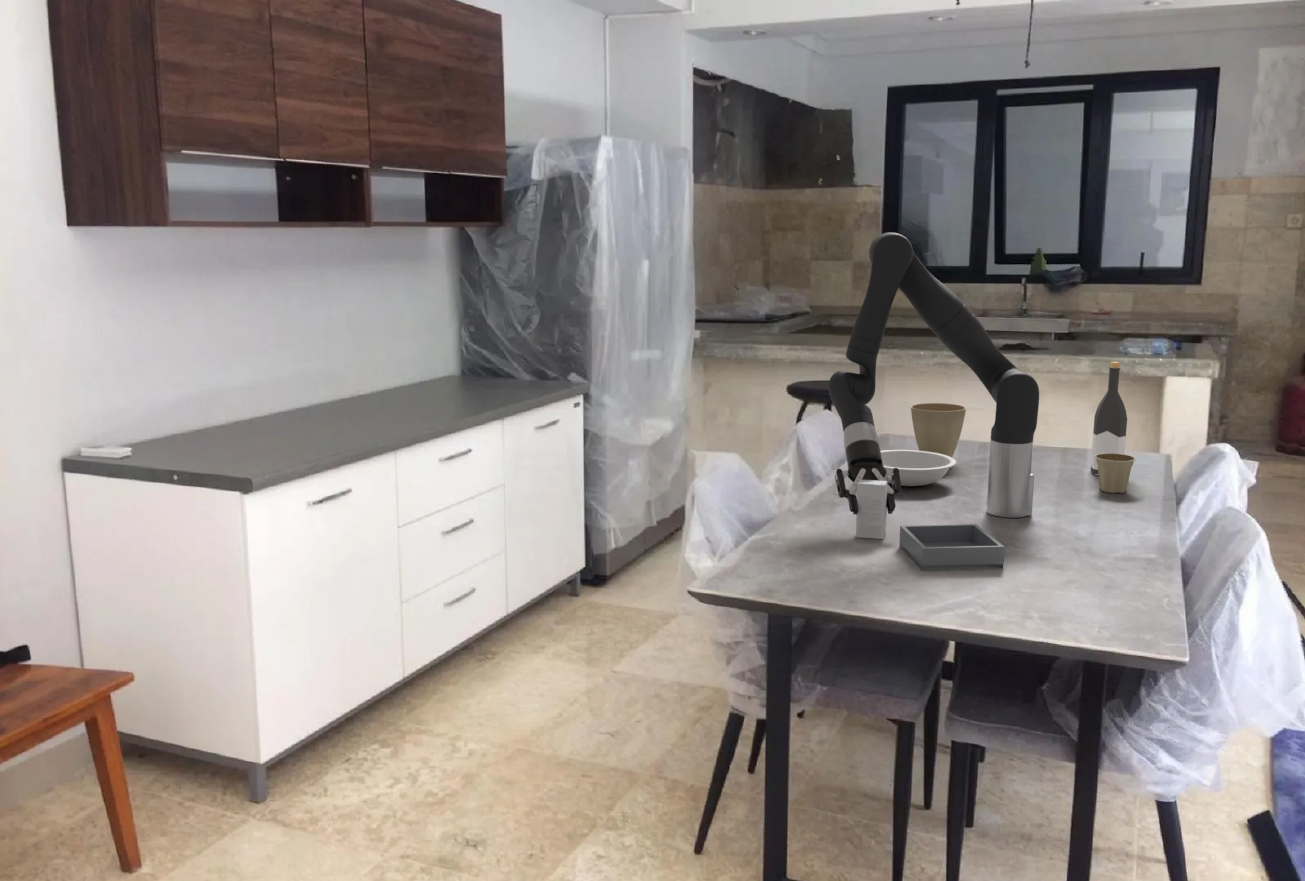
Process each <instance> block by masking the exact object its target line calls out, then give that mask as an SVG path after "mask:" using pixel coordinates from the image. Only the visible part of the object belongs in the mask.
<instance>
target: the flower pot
mask: <svg viewBox="0 0 1305 881" xmlns="http://www.w3.org/2000/svg"><path fill="white" fill-rule="evenodd" d="M1095 458H1096V462H1097V464H1098V475H1099V476H1098V475H1097V476H1098V487H1099V490H1101V492H1103V491H1104V492H1103V493H1109V492H1110V493H1109V494H1116V493H1119V494H1124V493H1126V492H1127V490H1128V484H1129V481H1130V476H1131V472H1132V471H1131V470H1132V467H1133V466H1134V463H1135V461H1136V459H1137V458H1136V457H1135V456H1133V455H1129V454H1125V453H1124V454H1114V453H1103V454H1097V455H1095Z"/></svg>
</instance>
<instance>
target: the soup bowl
mask: <svg viewBox="0 0 1305 881" xmlns="http://www.w3.org/2000/svg"><path fill="white" fill-rule="evenodd" d="M880 452H881V457H882V463H883V466H884V468H885V469H886V470H893V469H894V468H898V469H899V474H900V481H901V487H919V486H920V487H921V486H926V485H931V484H934V483H936V482H937V481H939V480H941V479H942V478H943V477H944V476H945V475H946V474H947V473H948V471H949V470H950V469H951V468H954V467H955V466H956V465H957V460H956V458H954V457H949V456H946V455H943V454H939V453H933V452H927V451H919V450H917V449H886V450H885V449H884V450H880ZM884 479H885V480H886V481H887V482H888V484H891V485H892V480H890V479H889V477H888V476H885V477H884Z"/></svg>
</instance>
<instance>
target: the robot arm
mask: <svg viewBox="0 0 1305 881" xmlns="http://www.w3.org/2000/svg"><path fill="white" fill-rule="evenodd" d="M869 246H870V247H869V251H868V256H869V261H870V263H871V269H870V276H869V277H870V278H869V282H868V287H867V290H866V293H865V295H864V300H863V302H862V304H861V306H860V307H861V308H860V309H859V312H858V314H857V316H856V319H855V322H854V325H853V328H852V331H851V335H850V337H849V341H848V344H847V348H846V352H845V357H846V358H847V360H848V361H849V362H852V363H854V364H857V365H858V368H859V373H858V372H857V373H855V372H852V371H845V370H838V371H835V372H834V373H833V374H832V375H831V376H830V378H829V380H828V385H827V387H828V395H829V398H830V400H831V402H832V404H833V406H834V408H835V410H836V412H837V414H838V416H839V417H840V418H839V419H840V421H841V426H842V431H843V448H844V451H845V456H846V457H845V458H846V463H847V470H843V469H841V468H837V469H836V472H835V475H834V480H835V484H836V485H835V486H836V490H837V493H838V494H837V495H838V497H839V498H842V499H843V498H845V499H847V502H848V507H849V511H850V513H852V514H853V515H857V513H858V504H857V483H858V482H859V481H860V480H877V481H886V480H885V479H884V477H885V476H888V477H889V479H890V480H892V484H891V485H892V487H891V486H890V485H889V483H888V482H887V515H892V514H893V513H894V512H895V509H896V506H897V505H896V501H895V498H898V497H899V496H900V494H901V492H902V486H901V481H900V474H899V469H898V468H894V469H893V470H886V469H885V468H884V466H883V463H882V457H881V452H880V451H881V446H880V442H879V437H878V434H877V430H876V427H875V426H876V425H875V421H874V417H873V412H872V410H871V408H870V407H869V406H868V405H867V404H869V403H870V402H871V401H872V400H873V398H874V396H875V393H876V373H877V372H876V371H877V359H878V355H879V352H880V348H881V344H882V342H883V338H884V335H885V331H886V327H887V324H888V320H889V316H890V313H891V309H892V305H893V303H894V301H895V298H896V295H897V293H898V290H900V291H901V292H902V293H903V294H904V296H905V297H906V298H907V300H908V301H909V302H910V304H911V305H912V306H913V308H914V309H915V310H914V311H916V313H917V314H918V315H919V317H920V318H921V319H922V320H923V322H924V323H925V325H927V327H928V328H929V329H930V331H932V332H933V334H934V335H935V336H936V337H937V338H938V340H939V341H940V342H942V343H943V344H944V346H946V348H948V350H950V352H952V353H953V355H955V356H956V357H957V358H958V359H959V360H960V361H961V362H963V363H964V364H965V365H966V366H967V367H969V368H970V370H971V371H972V372H973V373H974V374H975V375H976V376H977V378H978V379H979V380H980V382H981V383H982V385H983V386H984V387H985V389H986V390H987V393H989V395H990V397H991V398H992V399H993V401H994V402H995V403H996V404H995V416H994V418H995V419H994V424H993V426H992V427H991V431H990V446H989V464H988V477H987V478H988V481H987V495H986V496H987V498H986V499H987V501H986V512H987V514H988V515H992V516H996V517H1000V518H1010V519H1011V518H1015V519H1016V518H1023V517H1027V516H1028V517H1029V516H1032V515H1033V503H1034V502H1033V500H1034V488H1035V487H1034V486H1035V475H1034V474H1033V473H1032V462H1033V446H1034V437H1035V436H1034V435H1035V432H1036V429H1037V426H1038V416H1039V404H1040V389H1039V384H1038V383H1037V381H1036V379H1035V378H1034V377H1032V375H1030V374H1028V373H1026V372H1025V371H1023V370H1021V369H1019V367H1018V366H1016V365H1015V364H1013V363H1012V362H1011V361H1010V360H1009V359H1008V358H1007V357H1006V356H1005V355H1004V354H1003V353H1002V352H1001V351H1000V350H999V348H997V346H996V345H995V344H994V342H993V341H992V339H991V338H990V335H989V334H988V332H987V330H986V329H985V328H984V326H983V325H982V322H980V320H979V319H978V317H977V316H976V315H975V314H974V313H973V311H972V310H971V309H970V308H969V307H968V306H967V305H966V303H965V302H964V301H963V300H961V298H960V297H958V296H957V294H955V293H954V291H952V290H951V289H950V288H949V287H948V286H946V285H945V284H944V283H942V282H941V281H940V280H939V279H937V278H936V277H935V276H934V275H933V274H932V273H931V272H930V271H929V270H928V269H927V268H926V266H925V265H924V264H923V263H922V262H921V260H920V259H919V257H918V256H917V255H916V254H915V252H914V250H913V248H914V247H913V246H912V243H911V241H910V240H909V239H908V238H907V237H906V236H904V235H903V234H900V233H897V232H891V231H889V232H888V231H887V232H884V233H881V234H879V235H877V236H876V237H875V238H874V239H873V240H872V242H871V243H870V245H869ZM847 478H848V479H849V480H850V481H851V482H852V485H851V488H850V489H848V488H847V487H846V483H845V480H846V479H847Z"/></svg>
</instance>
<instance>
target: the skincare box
mask: <svg viewBox="0 0 1305 881" xmlns="http://www.w3.org/2000/svg"><path fill="white" fill-rule="evenodd" d="M856 498H857V504H858V513H857V514H856V520H855V524H856V526H855V529H856V530H855V531H856V532H855V536H856V538H861V539H862V538H863V539H874V540H875V539H877V540H884V539H885V537H886V535H887V515H888V511H887V481H877V480H860V481H859V482H858V483H857V492H856Z"/></svg>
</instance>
